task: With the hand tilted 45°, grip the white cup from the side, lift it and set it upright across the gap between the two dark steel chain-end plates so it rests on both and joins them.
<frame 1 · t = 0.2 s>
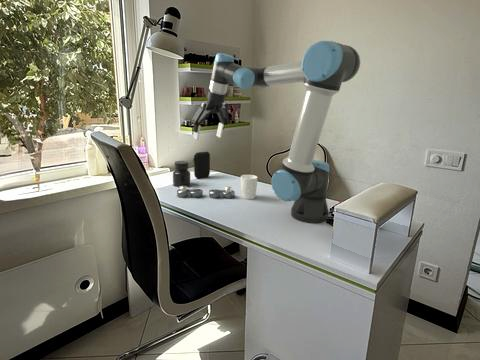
hand: (207, 137, 146), 27 cm above the table, tool tilted 15°, fingers open, 13 cm apart
ink bottle: (181, 184, 168), on the table
black rounded slab: (201, 178, 181), on the table
chain end right: (221, 196, 151), on the table
chain end left: (189, 195, 150), on the table
white cup: (248, 197, 151), on the table
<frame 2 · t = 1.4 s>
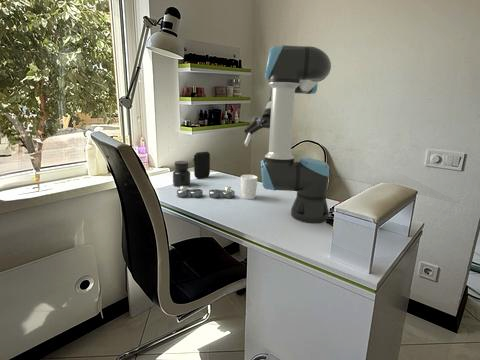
hand: (258, 146, 154), 23 cm above the table, tool tilted 45°, fingers open, 13 cm apart
nothing on the table moved.
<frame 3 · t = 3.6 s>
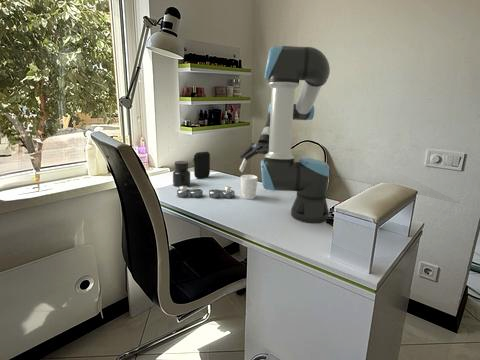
hand: (253, 172, 153), 11 cm above the table, tool tilted 45°, fingers open, 13 cm apart
nothing on the table moved.
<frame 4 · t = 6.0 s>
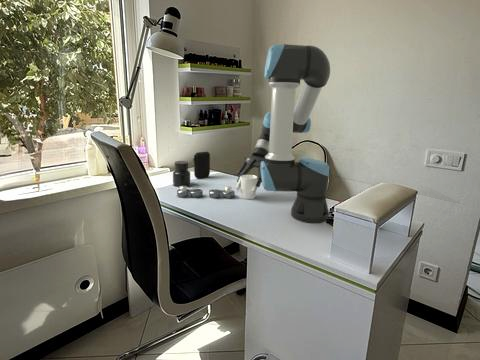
hand: (245, 190, 147), 4 cm above the table, tool tilted 45°, fingers closed on white cup, 8 cm apart
white cup: (248, 197, 151), on the table, touching gripper
everything else where it was.
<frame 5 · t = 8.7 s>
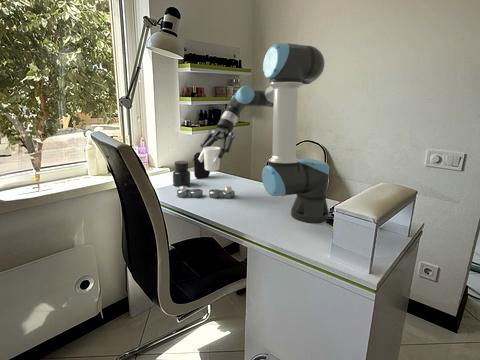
hand: (207, 162, 145), 17 cm above the table, tool tilted 45°, fingers closed on white cup, 8 cm apart
white cup: (211, 169, 149), point 13 cm above the table, touching gripper
everything else where it was.
when the fingers open (8 cm above the table, at t = 11.4 s): white cup drops 1 cm, resting on chain end left, chain end right.
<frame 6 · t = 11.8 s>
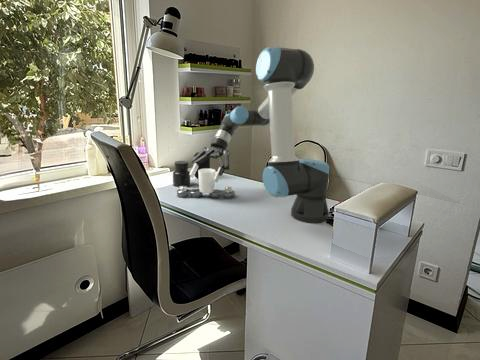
hand: (203, 178, 146), 9 cm above the table, tool tilted 45°, fingers open, 13 cm apart
white cup: (206, 191, 150), point 2 cm above the table, touching chain end left, chain end right
everything else where it was.
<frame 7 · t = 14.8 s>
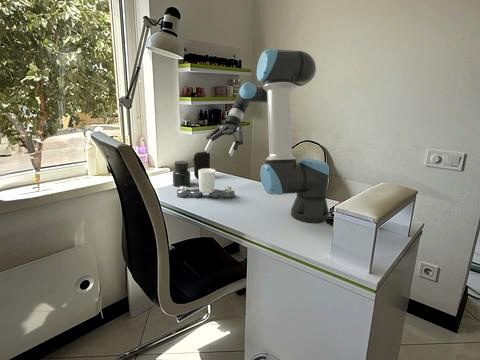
hand: (218, 153, 154), 19 cm above the table, tool tilted 45°, fingers open, 13 cm apart
nothing on the table moved.
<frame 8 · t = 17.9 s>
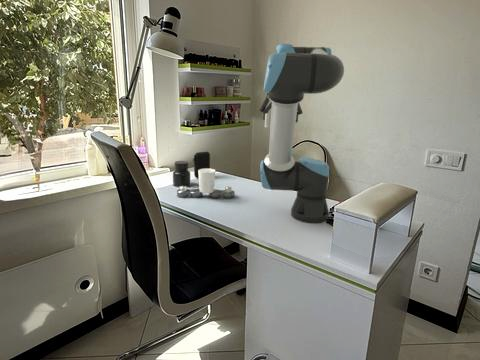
hand: (279, 128, 151), 32 cm above the table, tool pointing down, fingers open, 13 cm apart
nothing on the table moved.
at the end: white cup 0.4 cm from the target spot, point 2.3 cm above the table; white cup tilted 0°; the gripper is holding nothing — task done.
